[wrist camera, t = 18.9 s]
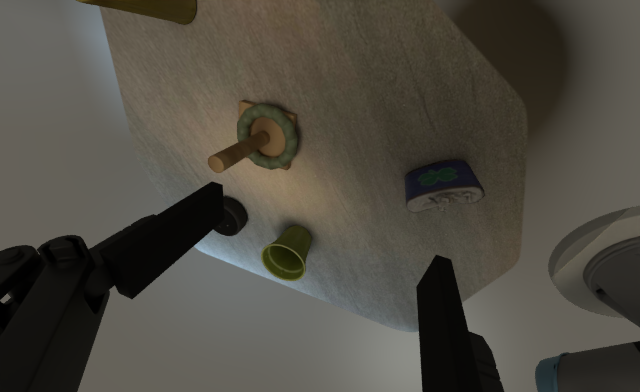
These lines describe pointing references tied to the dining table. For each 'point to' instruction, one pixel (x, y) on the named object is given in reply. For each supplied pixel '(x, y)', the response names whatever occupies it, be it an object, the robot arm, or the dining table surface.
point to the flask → (442, 186)
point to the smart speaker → (231, 218)
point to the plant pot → (288, 254)
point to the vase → (153, 8)
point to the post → (253, 142)
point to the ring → (281, 121)
